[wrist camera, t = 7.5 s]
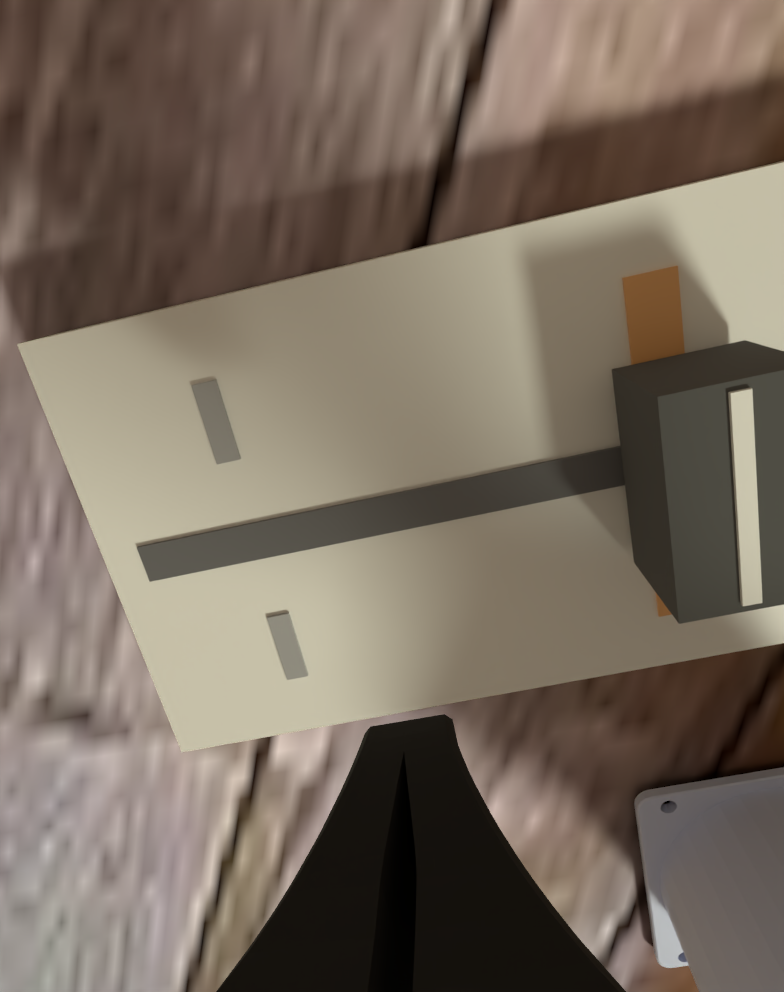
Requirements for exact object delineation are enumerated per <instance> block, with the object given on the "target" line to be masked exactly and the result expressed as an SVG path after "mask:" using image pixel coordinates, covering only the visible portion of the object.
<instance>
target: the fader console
mask: <svg viewBox="0 0 784 992" xmlns="http://www.w3.org/2000/svg"><path fill="white" fill-rule="evenodd" d="M744 340H746V341H749V342H753V343H756V344H760V345H763V346H767V347H770V348H774V349H777V350H781V351H784V161H780V162H776V163H772V164H768V165H763V166H759V167H755V168H751V169H747V170H742V171H738V172H734V173H730V174H726V175H721V176H717V177H713V178H709V179H705V180H700V181H696V182H692V183H688V184H684V185H679V186H675V187H671V188H667V189H663V190H658V191H654V192H650V193H646V194H641V195H637V196H633V197H629V198H625V199H620V200H616V201H612V202H608V203H604V204H599V205H595V206H591V207H587V208H583V209H578V210H574V211H570V212H566V213H562V214H557V215H553V216H549V217H545V218H541V219H536V220H532V221H528V222H524V223H519V224H515V225H511V226H507V227H503V228H498V229H494V230H490V231H486V232H482V233H477V234H473V235H469V236H465V237H461V238H456V239H452V240H448V241H444V242H440V243H435V244H431V245H427V246H423V247H419V248H414V249H410V250H406V251H402V252H397V253H393V254H389V255H385V256H381V257H376V258H372V259H368V260H364V261H360V262H355V263H351V264H347V265H343V266H339V267H334V268H330V269H326V270H322V271H318V272H313V273H309V274H305V275H301V276H297V277H292V278H288V279H284V280H280V281H275V282H271V283H267V284H263V285H259V286H254V287H250V288H246V289H242V290H238V291H233V292H229V293H225V294H221V295H217V296H212V297H208V298H204V299H200V300H196V301H191V302H187V303H183V304H179V305H175V306H170V307H166V308H162V309H158V310H153V311H149V312H145V313H141V314H137V315H132V316H128V317H124V318H120V319H116V320H111V321H107V322H103V323H99V324H95V325H90V326H86V327H82V328H78V329H74V330H69V331H65V332H61V333H57V334H53V335H49V336H46V337H42V338H38V339H35V340H31V341H27V342H24V343H20V344H17V345H18V348H19V350H20V353H21V355H22V358H23V360H24V363H25V365H26V368H27V370H28V373H29V375H30V378H31V380H32V383H33V385H34V388H35V390H36V392H37V395H38V397H39V400H40V402H41V405H42V407H43V410H44V412H45V415H46V417H47V420H48V422H49V425H50V427H51V430H52V432H53V435H54V437H55V440H56V442H57V445H58V447H59V449H60V452H61V454H62V457H63V459H64V462H65V464H66V467H67V469H68V472H69V474H70V477H71V479H72V482H73V484H74V487H75V489H76V492H77V494H78V497H79V499H80V501H81V504H82V506H83V509H84V511H85V514H86V516H87V519H88V521H89V524H90V526H91V529H92V531H93V534H94V536H95V539H96V541H97V544H98V546H99V549H100V551H101V553H102V556H103V558H104V561H105V563H106V566H107V568H108V571H109V573H110V576H111V578H112V581H113V583H114V586H115V588H116V591H117V593H118V596H119V598H120V601H121V603H122V606H123V608H124V610H125V613H126V615H127V618H128V620H129V623H130V625H131V628H132V630H133V633H134V635H135V638H136V640H137V643H138V645H139V648H140V650H141V653H142V655H143V658H144V660H145V662H146V665H147V667H148V670H149V672H150V675H151V677H152V680H153V682H154V685H155V687H156V690H157V692H158V695H159V697H160V700H161V702H162V705H163V707H164V710H165V712H166V715H167V717H168V719H169V722H170V724H171V727H172V729H173V732H174V734H175V737H176V739H177V742H178V744H179V747H180V749H181V752H186V751H192V750H197V749H203V748H208V747H214V746H220V745H225V744H231V743H236V742H242V741H247V740H253V739H258V738H264V737H269V736H275V735H280V734H286V733H291V732H297V731H302V730H308V729H313V728H319V727H324V726H330V725H335V724H341V723H346V722H352V721H357V720H363V719H368V718H374V717H379V716H385V715H390V714H396V713H402V712H407V711H413V710H418V709H424V708H429V707H435V706H440V705H446V704H451V703H457V702H462V701H468V700H473V699H479V698H484V697H490V696H495V695H501V694H506V693H512V692H517V691H523V690H528V689H534V688H539V687H545V686H550V685H556V684H561V683H567V682H572V681H578V680H584V679H589V678H595V677H600V676H606V675H611V674H617V673H622V672H628V671H633V670H639V669H644V668H650V667H655V666H661V665H666V664H672V663H677V662H683V661H688V660H694V659H699V658H705V657H710V656H716V655H721V654H727V653H732V652H738V651H743V650H749V649H754V648H760V647H766V646H771V645H777V644H782V643H784V605H778V606H773V607H767V608H762V609H757V610H751V611H746V612H741V613H735V614H730V615H724V616H719V617H714V618H708V619H703V620H698V621H692V622H687V623H681V624H679V623H678V622H677V621H676V619H675V618H674V616H673V615H672V614H671V612H670V611H669V610H668V608H667V607H666V606H665V604H664V603H663V601H662V600H661V599H660V597H659V596H658V595H657V593H656V592H655V591H654V589H653V588H652V586H651V585H650V584H649V582H648V581H647V580H646V578H645V577H644V576H643V574H642V573H641V571H640V570H639V569H638V567H637V566H636V565H635V563H634V558H633V550H632V541H631V532H630V524H629V515H628V507H627V498H626V489H625V481H624V472H623V464H622V455H621V446H620V438H619V429H618V421H617V412H616V403H615V395H614V386H613V378H612V369H615V368H620V367H624V366H629V365H633V364H638V363H643V362H647V361H652V360H656V359H661V358H666V357H670V356H675V355H679V354H684V353H689V352H693V351H698V350H702V349H707V348H712V347H716V346H721V345H725V344H730V343H734V342H739V341H744Z"/></svg>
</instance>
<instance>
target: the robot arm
mask: <svg viewBox="0 0 784 992" xmlns="http://www.w3.org/2000/svg"><path fill="white" fill-rule="evenodd" d="M666 801H670V802H669V803H667V804H663V803H664V802H666ZM634 805H635V813H636V820H637V828H638V835H639V843H640V850H641V858H642V865H643V873H644V880H645V888H646V895H647V903H648V910H649V918H650V925H651V933H652V940H653V948H654V953H655V956H656V959H657V961H658V963H659V964H660V965H661V966H663V967H667V968H674V967H681V966H688V965H689V967H690V970H691V972H692V975H693V977H694V980H695V982H696V985H697V987H698V990H699V992H784V767H781V768H775V769H769V770H763V771H758V772H752V773H746V774H740V775H734V776H728V777H722V778H716V779H710V780H704V781H698V782H692V783H686V784H680V785H674V786H668V787H662V788H656V789H650V790H646V791H643V792H641V793H640V794H638V795H637V797H636V798H635V803H634ZM216 992H626V991H625V990H624V989H623V988H622V987H621V986H620V984H619V983H618V982H617V981H616V980H615V979H614V978H613V977H612V975H611V974H610V973H609V972H608V971H607V970H606V969H605V968H604V966H603V965H602V964H601V963H600V962H599V961H598V960H597V959H596V957H595V956H594V955H593V954H592V953H591V952H590V951H589V949H588V948H587V947H586V946H585V945H584V944H583V943H582V942H581V940H580V939H579V938H578V937H577V936H576V934H575V933H574V932H573V931H572V930H571V928H570V927H569V926H568V924H567V923H566V922H565V921H564V919H563V918H562V917H561V916H560V914H559V913H558V912H557V911H556V909H555V908H554V907H553V906H552V904H551V903H550V902H549V900H548V899H547V898H546V896H545V895H544V893H543V892H542V891H541V889H540V888H539V887H538V885H537V884H536V883H535V881H534V880H533V879H532V877H531V876H530V874H529V873H528V871H527V870H526V869H525V867H524V866H523V864H522V863H521V861H520V860H519V858H518V857H517V855H516V854H515V852H514V851H513V849H512V847H511V846H510V844H509V843H508V841H507V840H506V838H505V836H504V835H503V833H502V832H501V830H500V828H499V827H498V825H497V823H496V822H495V820H494V818H493V817H492V815H491V813H490V811H489V809H488V808H487V806H486V804H485V802H484V800H483V798H482V796H481V795H480V793H479V791H478V789H477V787H476V785H475V783H474V781H473V779H472V777H471V775H470V773H469V771H468V768H467V766H466V764H465V761H464V759H463V757H462V754H461V752H460V749H459V746H458V743H457V738H456V733H455V729H454V724H453V720H452V719H451V718H449V717H448V716H446V715H445V714H444V715H438V716H432V717H426V718H420V719H414V720H408V721H402V722H396V723H390V724H384V725H378V726H372V727H370V728H369V729H368V730H367V732H366V733H365V735H364V738H363V740H362V743H361V746H360V748H359V751H358V753H357V755H356V758H355V760H354V763H353V765H352V767H351V770H350V772H349V774H348V776H347V779H346V781H345V783H344V785H343V787H342V790H341V792H340V794H339V796H338V798H337V800H336V802H335V804H334V806H333V808H332V810H331V812H330V814H329V816H328V818H327V820H326V822H325V824H324V826H323V828H322V830H321V832H320V834H319V836H318V838H317V840H316V841H315V843H314V845H313V847H312V848H311V850H310V852H309V854H308V856H307V857H306V859H305V861H304V863H303V864H302V866H301V868H300V870H299V871H298V873H297V875H296V877H295V878H294V880H293V882H292V884H291V885H290V887H289V888H288V890H287V892H286V893H285V895H284V896H283V898H282V900H281V901H280V903H279V904H278V906H277V908H276V909H275V911H274V912H273V914H272V915H271V917H270V918H269V920H268V921H267V923H266V924H265V926H264V927H263V929H262V930H261V931H260V933H259V934H258V936H257V937H256V939H255V940H254V942H253V943H252V945H251V946H250V947H249V949H248V950H247V951H246V953H245V954H244V955H243V957H242V958H241V960H240V961H239V962H238V964H237V965H236V966H235V968H234V969H233V970H232V972H231V973H230V974H229V976H228V977H227V978H226V980H225V981H224V982H223V984H222V985H221V986H220V988H219V989H218V990H217V991H216Z"/></svg>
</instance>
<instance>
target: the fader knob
mask: <svg viewBox="0 0 784 992" xmlns="http://www.w3.org/2000/svg"><path fill="white" fill-rule="evenodd" d="M612 378H613V386H614V395H615V403H616V412H617V421H618V429H619V438H620V446H621V455H622V464H623V472H624V481H625V489H626V498H627V507H628V515H629V524H630V532H631V541H632V550H633V558H634V563H635V565H636V566H637V567H638V569H639V570H640V571H641V573H642V574H643V576H644V577H645V578H646V580H647V581H648V582H649V584H650V585H651V586H652V588H653V589H654V591H655V592H656V593H657V595H658V596H659V597H660V599H661V600H662V601H663V603H664V604H665V606H666V607H667V608H668V610H669V611H670V612H671V614H672V615H673V616H674V618H675V619H676V621H677V622H678V623H679V624H681V623H687V622H692V621H698V620H703V619H708V618H714V617H719V616H724V615H730V614H735V613H741V612H746V611H751V610H757V609H762V608H767V607H773V606H778V605H784V351H781V350H777V349H774V348H770V347H767V346H763V345H760V344H756V343H753V342H749V341H746V340H744V341H739V342H734V343H730V344H725V345H721V346H716V347H712V348H707V349H702V350H698V351H693V352H689V353H684V354H679V355H675V356H670V357H666V358H661V359H656V360H652V361H647V362H643V363H638V364H633V365H629V366H624V367H620V368H615V369H612Z"/></svg>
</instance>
